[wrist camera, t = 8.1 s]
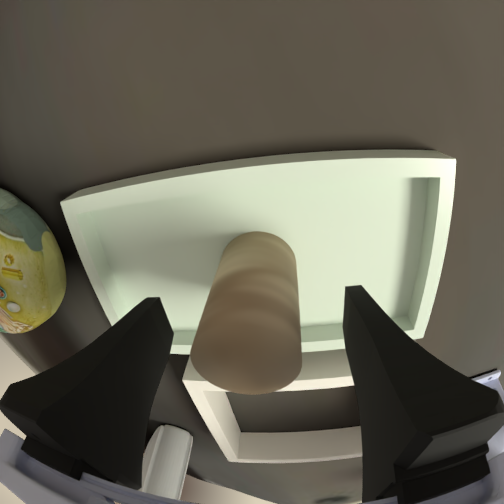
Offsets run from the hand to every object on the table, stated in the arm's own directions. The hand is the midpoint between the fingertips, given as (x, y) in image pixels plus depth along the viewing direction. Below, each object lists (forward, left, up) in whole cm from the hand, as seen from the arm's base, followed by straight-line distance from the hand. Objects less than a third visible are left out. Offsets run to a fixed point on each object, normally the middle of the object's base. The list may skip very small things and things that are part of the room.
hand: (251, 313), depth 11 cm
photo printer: (+13, +23, -4) cm, 27 cm away
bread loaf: (0, 0, -3) cm, 3 cm away
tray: (0, 0, -4) cm, 4 cm away
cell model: (+18, -2, -4) cm, 19 cm away
